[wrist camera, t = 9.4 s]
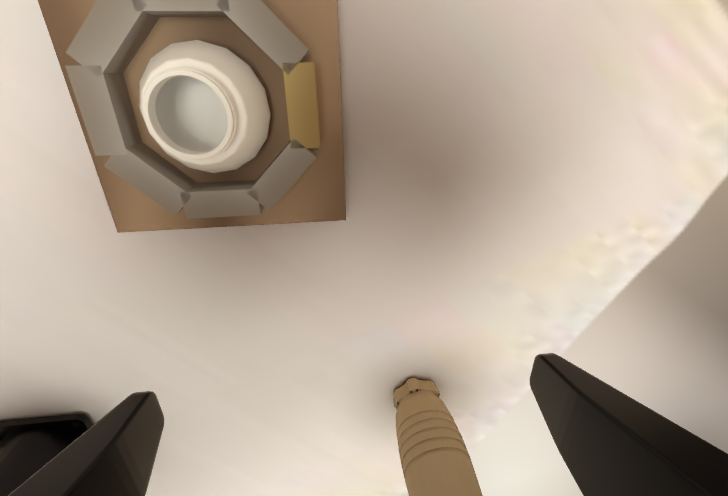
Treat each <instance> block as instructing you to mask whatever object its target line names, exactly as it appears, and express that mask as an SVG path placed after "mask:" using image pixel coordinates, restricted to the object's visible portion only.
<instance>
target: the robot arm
mask: <svg viewBox="0 0 728 496" xmlns="http://www.w3.org/2000/svg"><path fill="white" fill-rule="evenodd" d="M530 386H531V389H532V392H533V394H534V396H535V398H536V401H537V403H538V405H539V407H540V410H541V412H542V414H543V417H544V419H545V421H546V423H547V426H548V428H549V430H550V433H551V435H552V437H553V439H554V442H555V444H556V446H557V448H558V450H559V452H560V454H561V456H562V458H563V459H564V461H565V463H566V465H567V467H568V468H569V470H570V472H571V474H572V476H573V477H574V479H575V481H576V483H577V485H578V486H579V488H580V490H581V492H582V494H583V495H584V496H728V454H727V453H725V452H724V451H722V450H720V449H718V448H717V447H715V446H713V445H711V444H710V443H708V442H706V441H705V440H703V439H701V438H699V437H698V436H696V435H694V434H692V433H691V432H689V431H687V430H686V429H684V428H682V427H680V426H679V425H677V424H675V423H674V422H672V421H670V420H668V419H667V418H665V417H663V416H662V415H660V414H658V413H656V412H655V411H653V410H651V409H649V408H648V407H646V406H644V405H643V404H641V403H639V402H637V401H636V400H634V399H632V398H630V397H628V396H627V395H625V394H623V393H622V392H620V391H618V390H616V389H615V388H613V387H611V386H610V385H608V384H606V383H605V382H603V381H601V380H599V379H598V378H596V377H594V376H593V375H591V374H589V373H587V372H586V371H584V370H582V369H581V368H579V367H577V366H575V365H573V364H572V363H570V362H568V361H567V360H565V359H563V358H562V357H560V356H558V355H556V354H554V353H548V354H539V355H537V356H536V357H535V360H534V364H533V368H532V372H531V376H530ZM163 427H164V416H163V413H162V410H161V407H160V405H159V402H158V399H157V397H156V395H155V393H154V392H151V391H147V392H137V393H133V394H131V395H130V396H128V397H127V398H126V399H125V400H123V401H122V402H121V403H120V404H119V405H117V406H116V407H115V408H114V409H113V410H111V411H110V412H109V413H108V414H106V415H105V416H104V417H103V418H102V419H100V420H99V421H98V422H97V423H96V424H94V425H93V426H92V424H91V423H90V421H89V419H88V417H87V416H85V415H82V414H74V415H64V416H53V417H43V418H33V419H23V420H13V421H2V422H0V496H145V494H146V491H147V487H148V484H149V480H150V476H151V472H152V468H153V465H154V461H155V457H156V453H157V450H158V446H159V442H160V438H161V435H162V431H163Z"/></svg>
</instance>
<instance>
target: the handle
mask: <svg viewBox="0 0 728 496" xmlns="http://www.w3.org/2000/svg"><path fill="white" fill-rule="evenodd" d="M439 395H440V393H439V391H438V389H437V387H436V386H435V384H434V383H433V382H432V381H430V380H427V381H423V380H418V379H416V378H410V379H408V380H407V382H406V383H405V384H404V385H403V386H401V387H400V388H398V389H396V390H395V392H394V407H396V409H397V413H396V429H397V439H398V446H399V454H400V459H401V464H402V469H403V473H404V478H405V482H406V486H407V490H408V493H409V496H482V493H481V489H480V487H479V484H478V480H477V477H476V474H475V471H474V468H473V465H472V462H471V459H470V456H469V454H468V451H467V449H466V446H465V444H464V441H463V439H462V436H461V434H460V432H459V430H458V428H457V426H456V424H455V422H454V420H453V418H452V416H451V414H450V412H449V411H448V409H447V407H446V406H445V404H444V403H443V401H442V400H441V399H439Z"/></svg>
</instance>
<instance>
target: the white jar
mask: <svg viewBox="0 0 728 496" xmlns="http://www.w3.org/2000/svg"><path fill="white" fill-rule="evenodd" d="M139 108H140V111H141V113H142V116H143V118H144V121H145V123H146V126H147V129H148V131H149V134H150V135H151V136H152V137H153V138H154V139H155V141H156V142H157V143H158V144H159V145H160V147H161V148H162V149H163V150H164V151H165V152H166V154H167V155H169V156H171V157H172V158H174V159H176V160H177V161H179V162H181V163H182V164H184V165H185V166H187V167H189V168H192V169H197V170H201V171H206V172H211V173H217V172H224V171H230V170H236V169H238V168H239V167H241V166H242V165H244V164H245V163H247V162H248V161H250V160H252V159H253V158H255V156H256V155H257V153H258V152H259V150H260V148H261V147H262V145H263V144H264V142H265V140H266V139H267V137H268V130H269V123H270V116H271V113H270V109H269V104H268V100H267V96H266V92H265V88H264V87H263V85H262V84H261V82H260V81H259V79H258V78H257V76H256V75H255V73H254V72H253V70H252V69H251V67H250V66H249V65H248V64H247V63H246V62H244V61H243V60H242V59H240V58H239V57H238V56H236V55H235V54H234V53H232V52H231V51H230V50H228V49H227V48H224V47H220V46H217V45H214V44H210V43H207V42H203V41H200V40H193V41H186V42H179V43H173V44H170V45H169V46H167V47H166V48H164V49H163V50H162V51H160V52H159V53H158V54H156V55H155V56H153V57H152V58H151V59H150V61H149V63H148V65H147V67H146V69H145V71H144V73H143V75H142V78H141V80H140V104H139Z"/></svg>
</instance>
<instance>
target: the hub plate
mask: <svg viewBox="0 0 728 496" xmlns="http://www.w3.org/2000/svg"><path fill="white" fill-rule="evenodd" d="M38 2H39V5H40V8H41V11H42V14H43V17H44V20H45V23H46V25H47V28H48V31H49V34H50V37H51V40H52V43H53V46H54V49H55V52H56V55H57V57H58V60H59V63H60V66H61V69H62V72H63V75H64V78H65V81H66V84H67V86H68V89H69V92H70V95H71V98H72V101H73V104H74V107H75V110H76V113H77V116H78V118H79V121H80V124H81V127H82V130H83V133H84V136H85V139H86V142H87V145H88V147H89V150H90V153H91V156H92V159H93V162H94V165H95V168H96V171H97V174H98V176H99V179H100V182H101V185H102V188H103V191H104V194H105V197H106V200H107V203H108V206H109V208H110V211H111V214H112V217H113V220H114V223H115V226H116V229H117V232H135V231H154V230H172V229H190V228H209V227H227V226H245V225H264V224H282V223H300V222H319V221H337V220H346V207H345V182H344V157H343V132H342V107H341V82H340V57H339V32H338V7H337V0H38ZM193 40H200V41H203V42H207V43H210V44H214V45H217V46H220V47H224V48H227V49H228V50H230V51H231V52H232V53H234V54H235V55H236V56H238V57H239V58H240V59H242V60H243V61H244V62H246V63H247V64H248V65H249V66H250V67H251V69H252V70H253V72H254V73H255V75H256V76H257V78H258V79H259V81H260V82H261V84H262V85H263V87H264V88H265V92H266V96H267V100H268V104H269V109H270V113H271V116H270V123H269V130H268V137H267V139H266V140H265V142H264V144H263V145H262V147H261V148H260V150H259V152H258V153H257V155H256V156H255V158H253V159H252V160H250V161H248V162H247V163H245V164H244V165H242V166H241V167H239V168H238V169H236V170H230V171H224V172H217V173H211V172H206V171H201V170H197V169H192V168H189V167H187V166H185V165H184V164H182V163H181V162H179V161H177V160H176V159H174V158H172V157H171V156H169V155H167V154H166V152H165V151H164V150H163V149H162V148H161V147H160V145H159V144H158V143H157V142H156V141H155V139H154V138H153V137H152V136H151V135H150V134H149V131H148V129H147V126H146V123H145V121H144V118H143V116H142V113H141V111H140V108H139V104H140V80H141V78H142V75H143V73H144V71H145V69H146V67H147V65H148V63H149V61H150V59H151V58H152V57H153V56H155V55H156V54H158V53H159V52H160V51H162V50H163V49H164V48H166V47H167V46H169V45H170V44H173V43H179V42H186V41H193Z"/></svg>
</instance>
